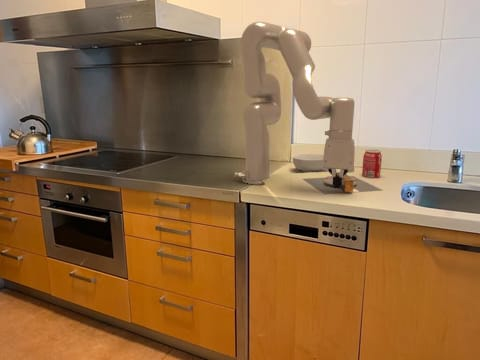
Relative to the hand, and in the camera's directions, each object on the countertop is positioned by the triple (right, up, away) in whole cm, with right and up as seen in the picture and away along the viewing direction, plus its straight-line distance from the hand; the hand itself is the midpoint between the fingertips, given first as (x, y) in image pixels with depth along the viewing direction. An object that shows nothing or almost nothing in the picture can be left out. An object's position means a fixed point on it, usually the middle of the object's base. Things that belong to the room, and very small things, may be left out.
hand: (336, 187), depth 125 cm
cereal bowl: (-2, +6, +38) cm, 38 cm away
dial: (+4, +1, +6) cm, 7 cm away
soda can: (+20, +3, +22) cm, 30 cm away
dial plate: (+4, 0, +10) cm, 11 cm away
